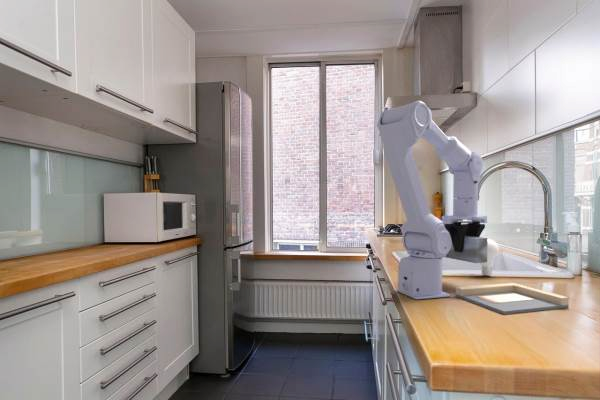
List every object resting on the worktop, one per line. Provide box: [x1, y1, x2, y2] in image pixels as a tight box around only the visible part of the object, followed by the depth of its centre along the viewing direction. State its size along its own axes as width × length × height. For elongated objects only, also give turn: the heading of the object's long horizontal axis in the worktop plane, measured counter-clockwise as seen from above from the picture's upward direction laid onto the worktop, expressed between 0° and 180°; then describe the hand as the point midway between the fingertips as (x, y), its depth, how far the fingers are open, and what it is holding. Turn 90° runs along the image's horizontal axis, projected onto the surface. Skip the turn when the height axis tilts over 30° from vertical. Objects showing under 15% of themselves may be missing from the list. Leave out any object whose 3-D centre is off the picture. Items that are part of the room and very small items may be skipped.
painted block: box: [445, 236, 489, 264], centre depth 89 cm, size 4×10×6 cm, turn 25°
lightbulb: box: [480, 238, 500, 277], centre depth 101 cm, size 6×6×11 cm
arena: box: [455, 282, 570, 315], centre depth 75 cm, size 17×13×2 cm
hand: (464, 251), depth 89 cm, fingers closed on painted block, 4 cm apart
